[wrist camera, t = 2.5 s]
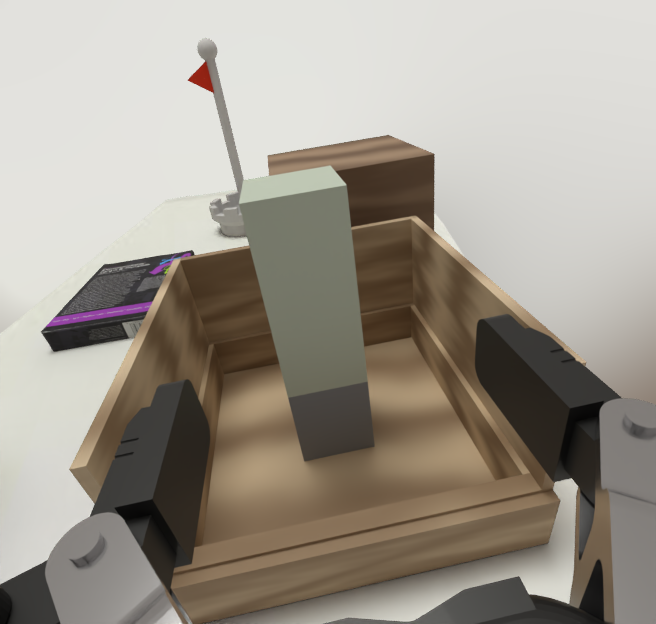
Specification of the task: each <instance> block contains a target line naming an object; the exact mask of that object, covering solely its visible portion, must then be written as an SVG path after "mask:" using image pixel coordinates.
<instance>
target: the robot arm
mask: <svg viewBox="0 0 656 624" xmlns="http://www.w3.org/2000/svg"><path fill="white" fill-rule="evenodd" d="M475 370H476V374H477V377H478V380H479V382H480V384H481V385H482V387H483V388H484V389H485V391H486V392H487V393H488V395H489V396H490V397H491V399H492V400H493V401H494V403H495V404H496V406H497V407H498V408H499V410H500V411H501V412H502V414H503V415H504V416H505V418H506V419H507V420H508V422H509V423H510V424H511V426H512V427H513V428H514V430H515V431H516V433H517V434H518V435H519V437H520V438H521V439H522V441H523V442H524V443H525V445H526V446H527V447H528V449H529V450H530V451H531V453H532V454H533V456H534V457H535V458H536V460H537V461H538V462H539V464H540V465H541V466H542V468H543V469H544V470H545V472H546V473H547V474H548V476H549V477H550V479H551V480H552V481H553V482H556V481H561V480H565V479H569V478H572V479H573V480H574V482H575V483H576V484H577V485H578V490H577V495H576V526H575V558H574V575H573V582H572V588H571V594H570V603H569V604H567V603H564V602H561V601H558V600H555V599H552V598H547V597H542V596H537V595H529V594H528V592H527V590H526V589H525V587H524V585H523V583H522V581H521V579H520V577H514V578H510V579H506V580H502V581H498V582H494V583H490V584H486V585H481V586H477V587H473V588H469V589H465V590H463V591H461V592H460V593H458V594H457V595H455V596H453V597H452V598H450V599H449V600H447V601H445V602H444V603H442V604H441V605H439V606H437V607H436V608H434V609H433V610H431V611H429V612H428V613H426V614H425V615H423V616H421V617H420V618H418V619H416V620H414V621H410V622H400V621H386V620H372V619H358V618H345V619H341V620H337V621H333V622H329V623H325V624H656V405H654V404H652V403H649V402H645V401H642V400H636V399H628V398H621V397H620V396H619V395H618V394H617V393H615V392H614V391H613V390H612V389H611V388H609V387H608V386H607V385H606V384H605V383H604V382H603V381H601V380H600V379H599V378H598V377H597V376H596V375H594V374H593V373H592V372H591V371H590V370H589V369H587V368H586V367H585V366H584V365H583V364H582V363H580V362H579V361H576V360H575V357H573V356H572V355H571V354H570V353H569V352H568V351H564V348H563V347H562V346H561V345H559V344H558V343H557V342H556V341H555V340H554V339H553V338H551V337H550V336H548V335H546V334H544V333H542V332H540V331H537V330H535V329H533V328H531V327H530V328H526V329H525V328H524V327H523V326H522V325H521V324H519V323H518V322H517V321H516V320H515V319H514V318H513V317H512V316H510V315H509V314H503V315H498V316H494V317H489V318H484V319H480V320H479V321H478V323H477V329H476V348H475ZM120 442H121V445H119V446H118V449H117V451H116V453H115V459H114V460H113V461H112V463H111V466H110V468H109V471H108V473H107V476H106V478H105V481H104V483H103V485H102V488H101V490H100V493H99V495H98V498H97V500H96V503H95V505H94V508H93V510H92V512H91V515H90V517H89V518H87V519H85V520H83V521H81V522H80V523H78V524H77V525H75V526H74V527H73V528H72V529H70V530H69V531H68V532H67V533H66V534H65V535H64V536H63V537H62V538H61V539H60V541H59V542H58V543H57V544H56V546H55V547H54V549H53V550H52V552H51V554H50V556H49V558H48V560H47V561H45V562H43V563H42V564H40V565H38V566H36V567H34V568H32V569H30V570H28V571H26V572H24V573H22V574H20V575H18V576H16V577H14V578H12V579H10V580H8V581H6V582H4V583H2V584H0V624H193V622H192V620H191V619H190V617H189V615H188V614H187V612H186V610H185V609H184V607H183V606H182V604H181V602H180V601H179V599H178V597H177V596H176V594H175V592H174V591H173V589H172V588H171V583H172V578H173V572H174V568H177V567H181V566H185V565H190V564H192V560H193V553H194V546H195V540H196V533H197V527H198V520H199V513H200V507H201V500H202V493H203V487H204V480H205V473H206V467H207V460H208V454H209V447H210V428H209V424H208V420H207V418H206V415H205V413H204V411H203V408H202V406H201V403H200V401H199V399H198V396H197V394H196V392H195V389H194V387H193V385H192V383H191V381H190V380H188V379H186V380H181V381H176V382H171V383H167V384H162V385H159V386H158V387H157V389H156V392H155V394H154V397H153V400H152V403H151V406H150V407H145V408H141V409H140V410H139V411H138V413H137V414H136V415H135V416H134V417H133V418H132V420H131V421H130V422H129V423H128V424H127V426H126V429H125V431H124V434H123V436H122V439H121V441H120Z"/></svg>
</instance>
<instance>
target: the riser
mask: <svg viewBox="0 0 656 624" xmlns="http://www.w3.org/2000/svg"><path fill="white" fill-rule="evenodd" d="M325 166H331V167H332V168H333V169H334V170H335V172H336V173H337V174H338V175H339V176H340V178H341V179H342V180H343V181H344V182H345V184H346V185H347V193H348V203H349V212H350V221H351V227H355V226H360V225H366V224H371V223H377V222H382V221H388V220H393V219H399V218H405V217H410V216H417V217H418V218H419V219H421V220H422V221H423V222H424V223H425V224H426V225H427V226H429V227H430V228H431V229H432V230H433V231H434V154H433V153H431V152H428V151H426V150H423V149H421V148H418V147H416V146H414V145H411V144H409V143H406V142H404V141H401V140H399V139H396V138H394V137H392V136H389V135H386V136H380V137H374V138H368V139H362V140H357V141H350V142H344V143H339V144H333V145H327V146H321V147H315V148H309V149H303V150H297V151H291V152H285V153H280V154H274V155H268V167H269V176H272V175H278V174H284V173H290V172H295V171H301V170H307V169H313V168H319V167H325Z"/></svg>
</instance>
